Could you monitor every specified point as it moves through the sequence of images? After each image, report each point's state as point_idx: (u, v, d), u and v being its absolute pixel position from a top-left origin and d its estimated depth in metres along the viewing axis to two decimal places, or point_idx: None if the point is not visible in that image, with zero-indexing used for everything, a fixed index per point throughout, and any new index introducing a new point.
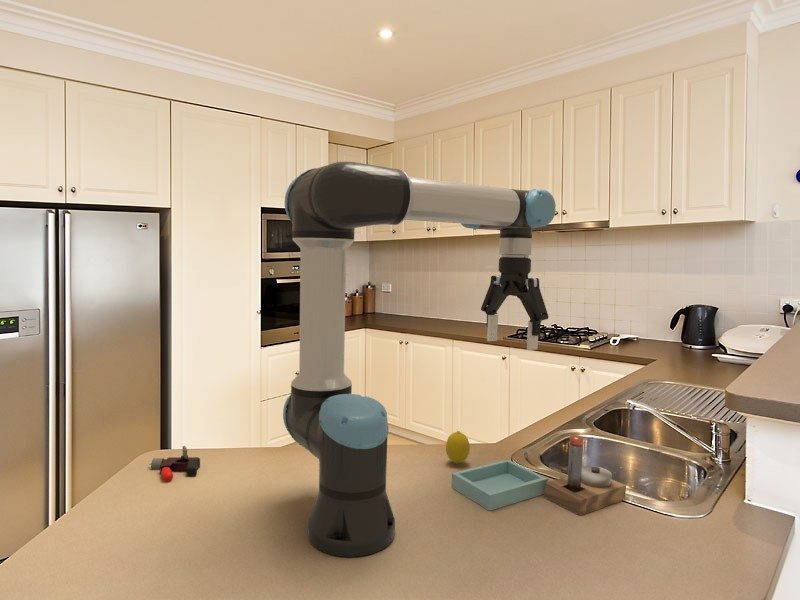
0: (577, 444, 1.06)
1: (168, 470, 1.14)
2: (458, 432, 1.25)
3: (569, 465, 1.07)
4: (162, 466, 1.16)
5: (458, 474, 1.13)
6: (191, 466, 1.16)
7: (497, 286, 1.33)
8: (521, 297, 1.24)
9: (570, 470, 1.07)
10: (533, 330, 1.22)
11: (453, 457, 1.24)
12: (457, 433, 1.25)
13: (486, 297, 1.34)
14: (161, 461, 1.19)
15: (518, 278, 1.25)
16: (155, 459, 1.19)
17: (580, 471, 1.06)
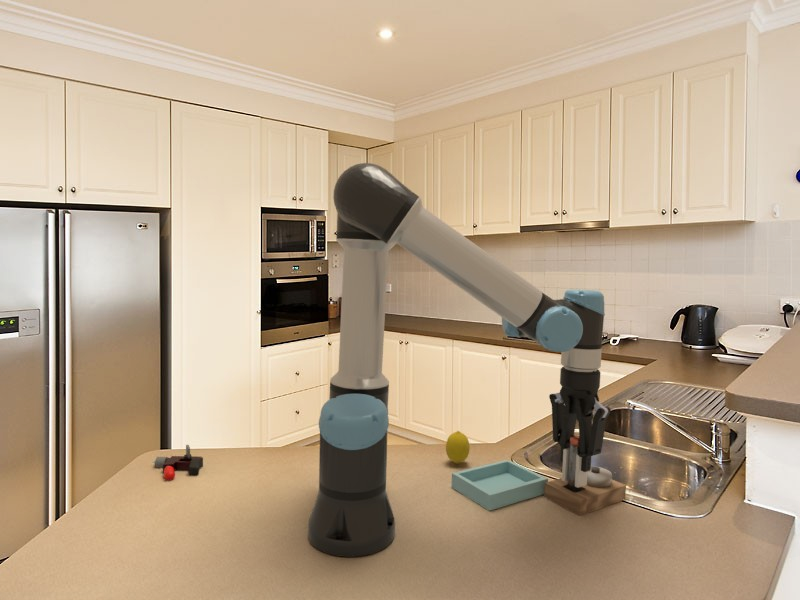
0: (577, 444, 1.06)
1: (170, 469, 1.15)
2: (458, 432, 1.25)
3: (569, 465, 1.07)
4: (165, 465, 1.17)
5: (458, 474, 1.13)
6: (193, 466, 1.16)
7: (561, 405, 1.10)
8: (581, 422, 1.04)
9: (570, 470, 1.07)
10: (583, 465, 1.05)
11: (453, 457, 1.24)
12: (457, 433, 1.25)
13: (554, 423, 1.10)
14: (165, 459, 1.20)
15: (588, 396, 1.03)
16: (159, 457, 1.20)
17: None
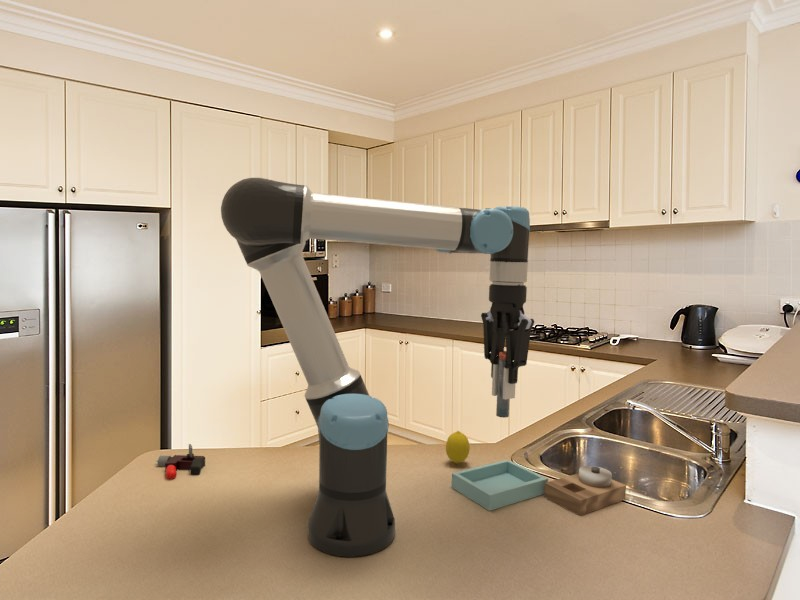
0: (505, 357, 1.09)
1: (172, 468, 1.15)
2: (458, 432, 1.25)
3: (498, 379, 1.10)
4: (167, 464, 1.17)
5: (458, 474, 1.13)
6: (195, 465, 1.17)
7: (492, 323, 1.14)
8: (507, 335, 1.08)
9: (499, 384, 1.10)
10: (509, 377, 1.08)
11: (453, 457, 1.24)
12: (457, 433, 1.25)
13: (485, 340, 1.13)
14: (168, 458, 1.21)
15: (513, 309, 1.06)
16: (162, 456, 1.21)
17: None
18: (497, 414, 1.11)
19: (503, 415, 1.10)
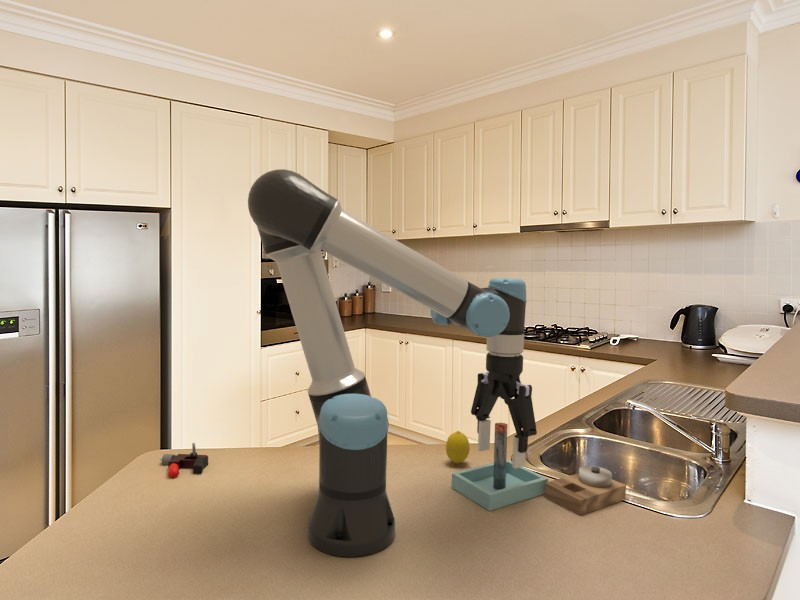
0: (501, 431, 1.10)
1: (174, 466, 1.16)
2: (458, 432, 1.25)
3: (494, 451, 1.12)
4: (170, 462, 1.18)
5: (458, 474, 1.13)
6: (197, 464, 1.17)
7: (486, 385, 1.16)
8: (509, 404, 1.08)
9: (495, 456, 1.11)
10: (519, 446, 1.06)
11: (453, 457, 1.24)
12: (457, 433, 1.25)
13: (475, 398, 1.17)
14: (171, 457, 1.21)
15: (509, 380, 1.08)
16: (166, 455, 1.22)
17: (504, 457, 1.11)
18: (494, 486, 1.12)
19: (500, 487, 1.11)
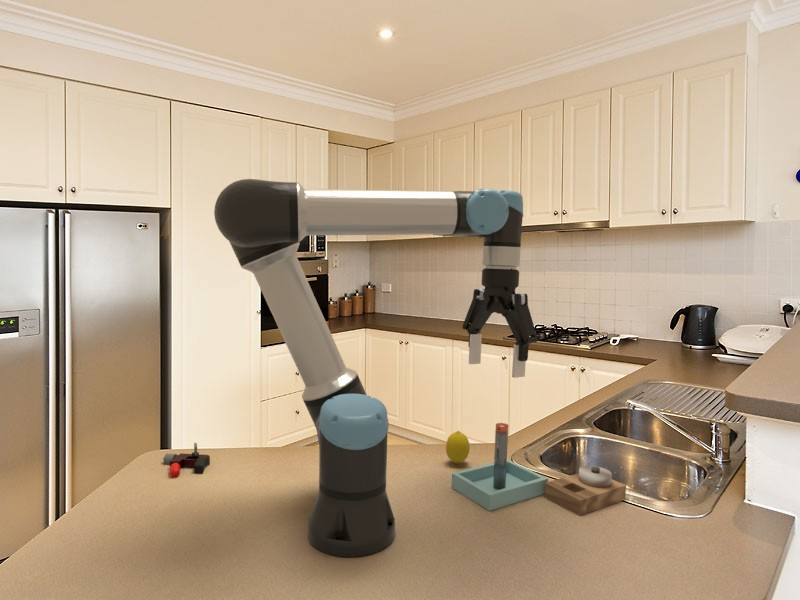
0: (502, 431, 1.10)
1: (176, 466, 1.16)
2: (458, 432, 1.25)
3: (495, 452, 1.12)
4: (172, 461, 1.19)
5: (458, 474, 1.13)
6: (198, 464, 1.17)
7: (481, 301, 1.15)
8: (506, 315, 1.06)
9: (496, 456, 1.11)
10: (520, 354, 1.04)
11: (453, 457, 1.24)
12: (457, 433, 1.25)
13: (468, 313, 1.17)
14: (173, 456, 1.22)
15: (503, 293, 1.07)
16: (168, 454, 1.22)
17: (505, 457, 1.11)
18: (494, 486, 1.12)
19: (500, 488, 1.11)
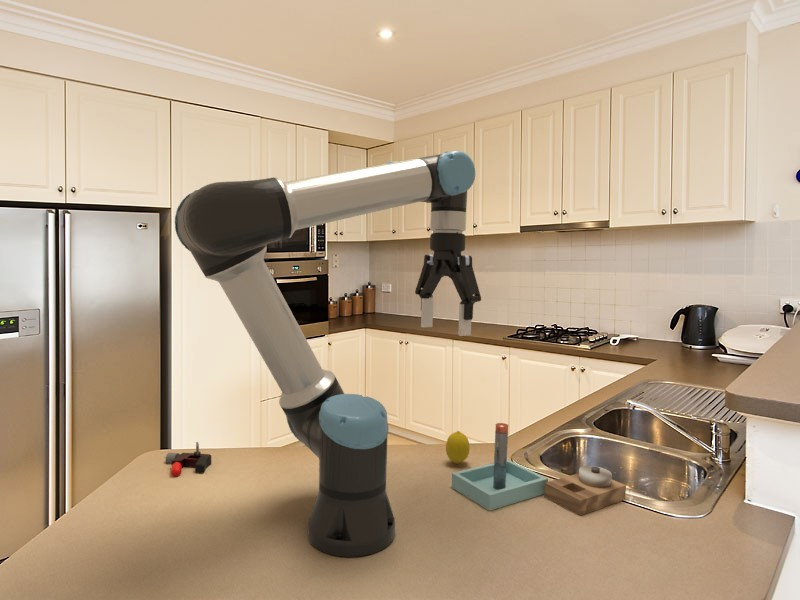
0: (501, 431, 1.10)
1: (177, 465, 1.16)
2: (458, 432, 1.25)
3: (495, 452, 1.12)
4: (174, 461, 1.19)
5: (458, 474, 1.13)
6: (199, 463, 1.18)
7: (431, 266, 1.20)
8: (453, 277, 1.11)
9: (496, 457, 1.11)
10: (465, 313, 1.09)
11: (453, 457, 1.24)
12: (457, 433, 1.25)
13: (420, 279, 1.21)
14: (175, 456, 1.22)
15: (450, 256, 1.12)
16: (170, 453, 1.23)
17: (505, 457, 1.11)
18: (494, 486, 1.12)
19: (500, 488, 1.11)
